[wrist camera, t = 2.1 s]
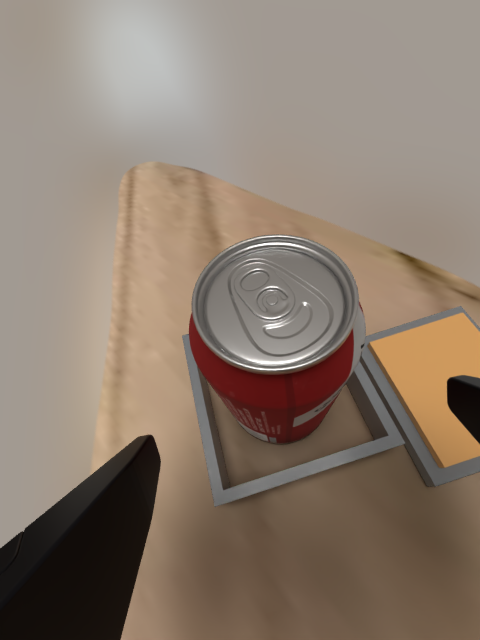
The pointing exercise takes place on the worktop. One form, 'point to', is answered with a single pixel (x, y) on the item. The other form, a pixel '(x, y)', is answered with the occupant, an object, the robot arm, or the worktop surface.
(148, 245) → the worktop surface
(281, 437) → the soda can
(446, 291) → the worktop surface
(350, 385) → the case
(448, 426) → the lid
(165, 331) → the worktop surface
